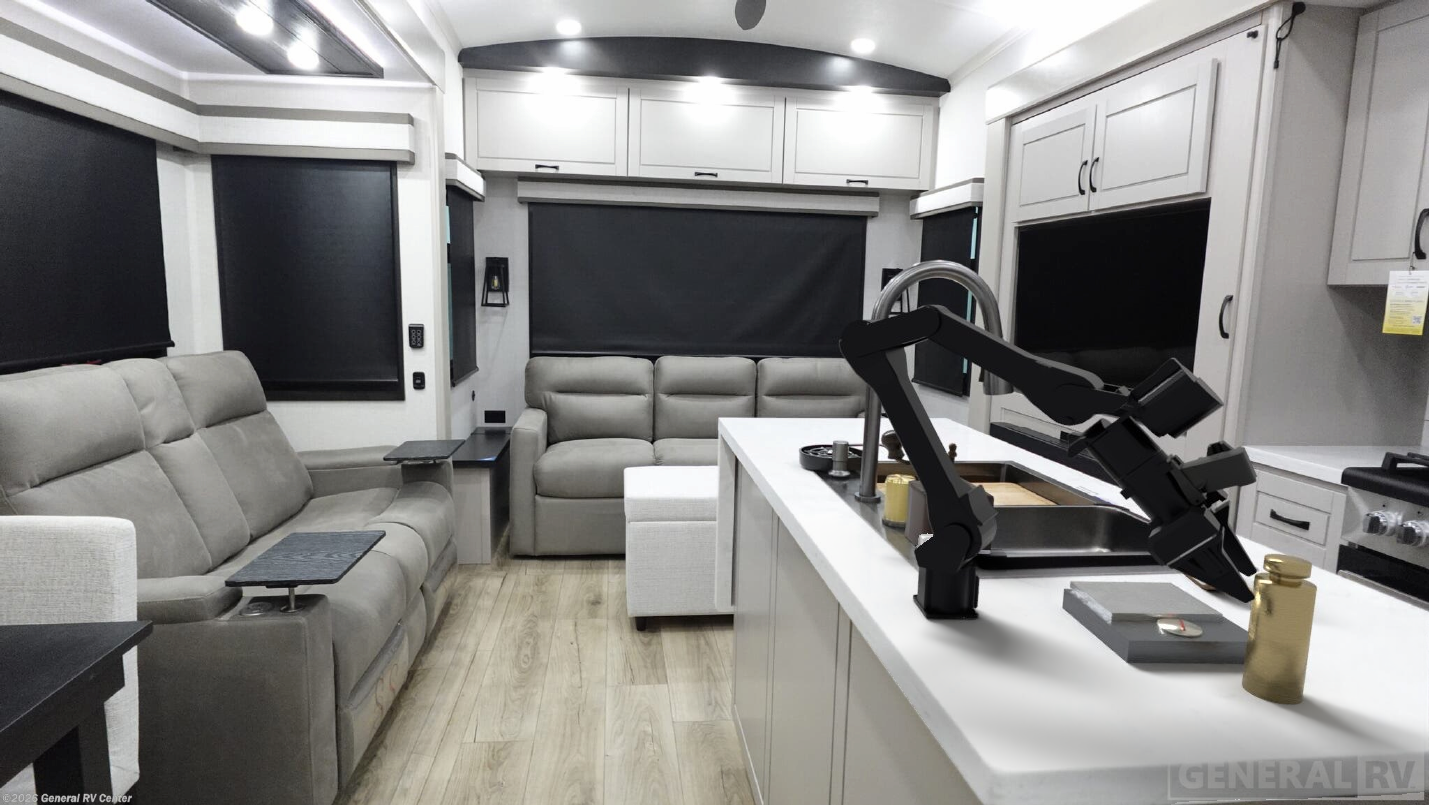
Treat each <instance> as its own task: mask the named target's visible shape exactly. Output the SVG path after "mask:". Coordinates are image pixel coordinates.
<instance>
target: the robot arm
mask: <svg viewBox="0 0 1429 805" xmlns="http://www.w3.org/2000/svg"><path fill="white" fill-rule="evenodd" d="M927 340H930V341H931V342H934V343H936V344H937V345H939V346H940V347H943V348H944V349H945V350H946V349H947V350H948V351H950V352H951V353H954V354H955V355H957V356H959V357H961V358H963V359H964V360H967V361H968V362H971V363H972V364H974V365H976V366H978V367H979V368H980V369H983V370H984V371H987V372H988V373H991V374H992V375H994V376H996V377H998V378H999V379H1000V380H1003V381H1005V382H1006V383H1008V384H1010V385H1011V386H1013V387H1014V388H1015V389H1016V390H1018V391H1019V393H1021V394H1022V395H1023V396H1024V398H1026V399H1027V400H1028V402H1029V403H1031V405H1033V406H1034V407H1035V408H1037V409H1038V410H1039V411H1040V412H1042V413H1043V414H1044V415H1045V416H1046V417H1048V418H1049V419H1051V420H1052V421H1053V422H1055V423H1057V424H1058V425H1062V426H1069V427H1071V426H1077V425H1082V424H1084V423H1086V422H1087V421H1089V420H1091V419H1092V418H1094V417H1095V416H1097V415H1105V414H1113V413H1115V412H1116V411H1118V410H1120V409H1121V408H1123V407H1124V406H1125V405H1127V404H1128V403H1129V404H1131V405H1132V408H1130V409H1129V410H1128V411H1126V412H1125V413H1124V414H1123V415H1121V416H1120V417H1118V418H1117V419H1116V420H1115V421H1113V422H1111V421H1110V420H1108V419H1106V418H1103V417H1101V418H1100V419H1098V420H1097V421H1096V422H1095V423H1093V424H1092V425H1091V426H1090V425H1089V427H1087V428H1086V429H1085V430H1084V431H1083V432H1075V431H1072V432H1069V434H1068V433H1067V442H1068V446H1067V453H1066V457H1067V459H1070V460H1072V459H1074V458H1075V457H1077V456H1078V455H1080V454H1081V453H1082V452H1084V451H1085V450H1086V451H1087V452H1088V454H1090V456H1092V457H1093V458H1094V460H1095V461H1096V462H1097V463H1098V464H1099V465H1100V466H1101V467H1102V468H1103V469H1104V471H1105V472H1106V473H1107V474H1108V475H1109V476H1110V477H1111V479H1113V480H1114V482H1116V484H1117V485H1119V487H1120V488H1121V491H1119V494H1120V495H1121V496H1122V497H1123V498H1124V499H1125V500H1126V501H1127V500H1129V499H1131V500H1132V502H1134V503H1135V504H1136V506H1138V508H1139V509H1141V511H1142V512H1143V513H1144V514H1145V515H1146V517H1147V518H1148V519H1149V521H1148V526H1150V528H1151V529H1152V531H1151V533H1150V535H1149V536H1148V538H1147V549H1146V550H1147V553H1149V554H1150V555H1151V557H1153V559H1154V560H1155V561H1156V562H1157V563H1158V564H1159V566H1160V567H1163V566H1165V565H1166V566H1167V567H1168V568H1169V569H1170V570H1176V571H1178V572H1180V573H1182V574H1184V575H1185V574H1186V575H1189V576H1191V577H1193V578H1195V579H1197V580H1199V581H1201V582H1203V583H1205V584H1207V585H1210V586H1212V587H1214V588H1215V589H1217V590H1216V591H1220V592H1222V593H1223V594H1226V595H1228V596H1230V597H1232V598H1234V599H1235V600H1237V601H1240V602H1242V603H1244V604H1249V603H1251V602H1252V600H1254V599H1255V595H1254V594H1253V589H1251V588H1250V586H1249V584H1248V583H1247V581H1246V579H1245V578H1244V577H1243V576H1245V577H1248V578H1249V577H1252V576H1253V575H1254V576H1255V575H1256V574H1258V573H1257V572H1258V569H1257V568H1256V565H1254V563H1253V561H1252V560H1251V557H1250V556H1249V555H1248V552H1247V551H1246V549H1245V547H1244V546H1243V544H1242V543H1241V541H1240V539H1239V538H1238V535H1237V534H1236V533H1235V531H1234V529H1233V527H1232V525H1231V524H1230V520H1229V519H1230V510H1231V500H1228V496H1229V494H1228V492H1226V491H1225V489H1228V488H1232V487H1233V488H1234V487H1239V488H1241V487H1245V486H1246V487H1247V486H1249V485H1252V484H1254V483H1256V482H1257V478H1258V475H1257V472H1256V470H1255V468H1254V466H1253V464H1252V461H1251V459H1250V457H1249V454H1248V453H1247V452H1248V451H1247V450H1246V448H1245V447H1242V446H1237V447H1236V448H1234V447H1232V446H1231V445H1230V444H1229V443H1227V441H1225V440H1223V439H1222V440H1220V441H1216V442H1213V443H1209V444H1208V445H1207V448H1206V456H1199V457H1198V458H1197V459H1194V460H1190V461H1186V462H1184V461H1183V460H1182V458H1180V457H1179V455H1177V454H1173V453H1170V454H1167V453H1166V452H1165V451H1164V450H1163V448H1162V447H1161V446H1160V445H1159V444H1158V443H1157V442H1156V441H1155V440H1154V439H1153V438H1152V437H1151V436H1150V434H1148V433H1147V432H1146V431H1145V430H1144V429H1143V428H1142V427H1141V425H1140V424H1139V423H1138V422H1137V421H1136V420H1135V419H1134V418H1133V417H1132V416H1133V415H1135V417H1136V418H1137V419H1138V420H1139V421H1140V422H1141V423H1142V425H1144V427H1145V428H1146V429H1147V430H1148V431H1150V433H1151V434H1153V435H1154V436H1155V437H1157V438H1162V437H1165V436H1166V435H1169V436H1170V437H1171V438H1172V439H1175V440H1177V439H1178V438H1180V437H1181V436H1183V435H1184V434H1185V433H1187V432H1188V431H1190V430H1191V429H1193V428H1194V427H1195V426H1197V425H1198V424H1199V423H1201V422H1203V421H1204V420H1205V419H1207V418H1208V417H1210V416H1211V415H1213V414H1214V413H1215V412H1217V411H1218V410H1220V409H1221V408H1223V407H1224V406H1225V403H1224V401H1223V400H1222V399H1221V397H1220V396H1219V395H1218V394H1217V393H1216V392H1215V391H1214V389H1212V388H1211V387H1210V385H1208V383H1206V381H1204V379H1203V378H1201V377H1200V376H1199V377H1197V376H1196V375H1195V374H1194V373H1193V372H1192V371H1190V370H1189V369H1188V368H1187V367H1185V365H1183V364H1182V363H1181V362H1180V361H1179V360H1178V359H1177V358H1176V357H1171V358H1169V359H1168V360H1167V361H1166V362H1164V363H1163V364H1162V365H1160V366H1159V367H1158V369H1157V370H1156V371H1155V372H1154V373H1153V374H1151V375H1150V376H1149V377H1148V378H1146V379H1145V380H1143V381H1142V382H1141V383H1140V384H1139V385H1137V386H1135V387H1134V388H1129V387H1126V386H1125V385H1122V386H1120V385H1114V384H1109V383H1105V382H1103V380H1102V379H1101V378H1100V377H1099V376H1098V375H1096V374H1094V373H1093V372H1090V371H1088V370H1084V369H1082V368H1079V367H1077V366H1076V367H1075V366H1072V365H1069V364H1066V363H1063V362H1059V361H1054V360H1051V359H1046V358H1044V357H1040V356H1037V355H1034V354H1032V353H1030V352H1028V351H1027V350H1024V349H1022V348H1020V347H1018V346H1017V345H1015V344H1012V343H1011V342H1008V341H1007V340H1005V339H1004V338H1001V337H999V336H998V335H995V334H994V333H991V332H989V331H988V330H986V329H983V328H982V327H980V326H978V325H976V324H974V323H972V322H971V321H968V320H966V319H964V318H963V317H961V316H959V315H957V314H955V313H953V312H952V311H950V310H949V309H948V307H946V306H943V305H942V304H941V305H939V304H926V305H921V306H920V307H918V308H917V309H913V310H910V311H908V312H907V311H906V312H904V313H900V314H897V315H893V316H889V317H886V318H881V319H877V318H876V319H856V320H853V321H851V322H850V323H848V325H846V326H845V327H844V328H843V330H842V332H841V335H840V339H839V340H838V347H839V351H840V353H841V356H843V359H845V361H846V362H847V364H848V365H849V367H850V368H851V370H852V371H853V372H854V373H855V375H856V376H857V377H859V379H861V380H862V381H863V382H864V383H865V384H866V385H867V386H868V387H869V388H870V389H871V390H873V392H874V394H875V396H876V397H877V399H878V400H879V401H878V402H879V403H880V405H881V407H882V409H883V411H884V412H885V415H886V417H887V418H888V421H889V422H890V424H891V427H892V430H894V431H895V433H896V435H897V437H898V439H899V441H900V443H901V445H902V450H903V452H905V453H904V454H905V456H907V459H908V461H910V463H911V465H912V466H911V467H912V470H914V473H915V475H916V477H917V479H918V481H920V483H921V485H922V487H923V489H924V491H925V494H926V501H927V511H928V520H929V523H930V526H931V529H932V533H933V537H931V538H930V539H929V540H927V541H926V542H924V543H923V544H922V545H920V546H919V547H918V548H917V547H916V548H915V549H914V550H913V554H914V557H915V561H916V564H917V567H918V575H917V576H918V578H917V579H918V580H917V593H916V594H912V599H913V601H914V602H915V604H916V605H917V606H918V608H919V609H920V611H921V612H922V614H923V615H924V617H926V618H928V619H979V613H978V612H977V610H976V609H977V608H978V606H979V594H980V593H979V592H980V591H979V590H980V577H979V576H978V574H977V565H976V564H975V563H974V562H973V560H972V559H973V558H975V557H977V556H978V555H977V554H978V553H979V552H980V551H981V550H983V549H984V548H985V547H986V546H987V545H988V544H989V543H990V542H991V543H992V541H993V540H994V539H995V536H996V534H997V530H998V525H997V521H996V520H997V519H996V518H995V516H997V514H998V513H999V512H998V511H997V510H996V509H995V507H994V508H993V507H992V506H991V504H990V503H989V501H988V498H987V495H986V492H987V491H986V489H985V488H984V486H983V484H978V485H977V487H975V488H974V489H972V488H971V487H969V486H968V485H967V484H966V483H965V482H964V481H963V480H962V479H963V478H962V477H960V475H959V473H958V472H957V470H956V468H955V464H954V465H953V464H952V462H951V460H950V458H949V456H948V451H947V450H946V448H945V446H944V444H943V442H942V440H941V438H940V437H939V434H938V432H937V431H936V428H935V427H934V425H933V423H932V421H931V419H930V417H929V415H928V413H927V411H926V409H925V407H924V405H923V403H922V400H920V397H919V395H918V393H917V392H916V390H915V387H914V386H913V384H912V382H911V379H910V376H909V370H908V360H907V353H906V349H905V348H908V347H910V346H913V345H914V346H915V345H916V344H919V343H922V342H924V341H927ZM961 478H962V479H961ZM985 491H986V492H985ZM1218 501H1219V502H1222V504H1220V505H1218V506H1217V505H1216V504H1215V503H1217V502H1218ZM1242 574H1243V576H1242ZM1186 575H1185V576H1186Z"/></svg>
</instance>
